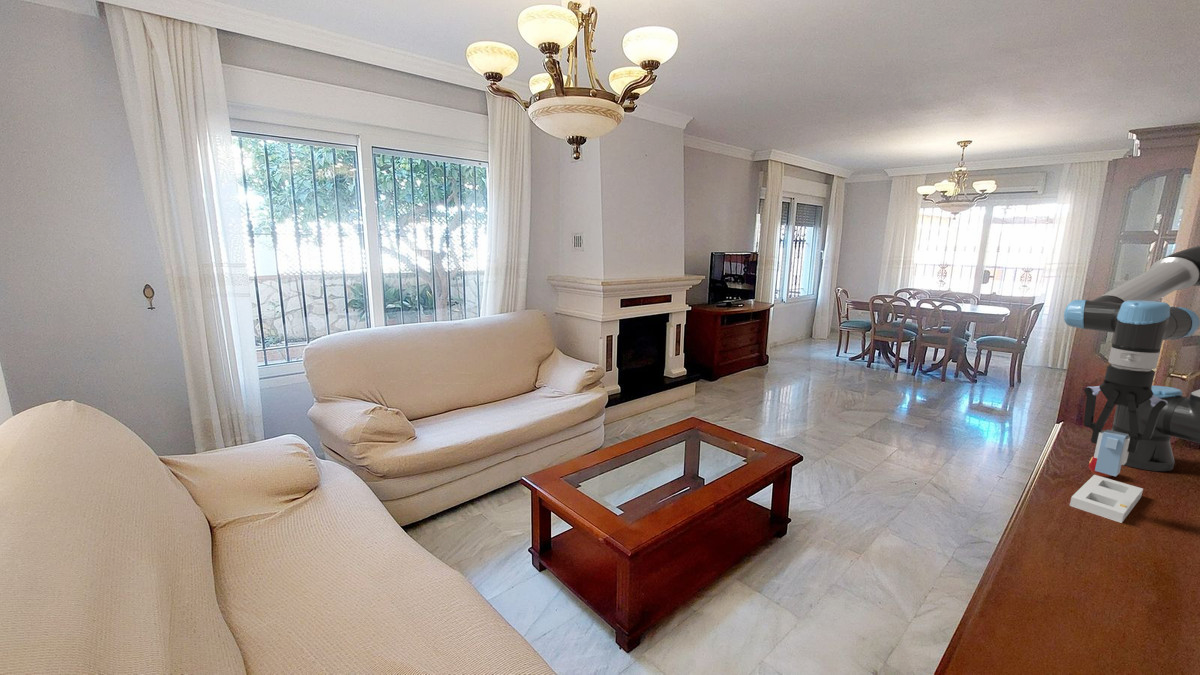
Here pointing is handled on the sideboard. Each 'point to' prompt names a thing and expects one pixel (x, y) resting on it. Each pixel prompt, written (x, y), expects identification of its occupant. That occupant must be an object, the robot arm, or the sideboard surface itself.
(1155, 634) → the sideboard surface
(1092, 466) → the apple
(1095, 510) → the panel
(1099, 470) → the plug
